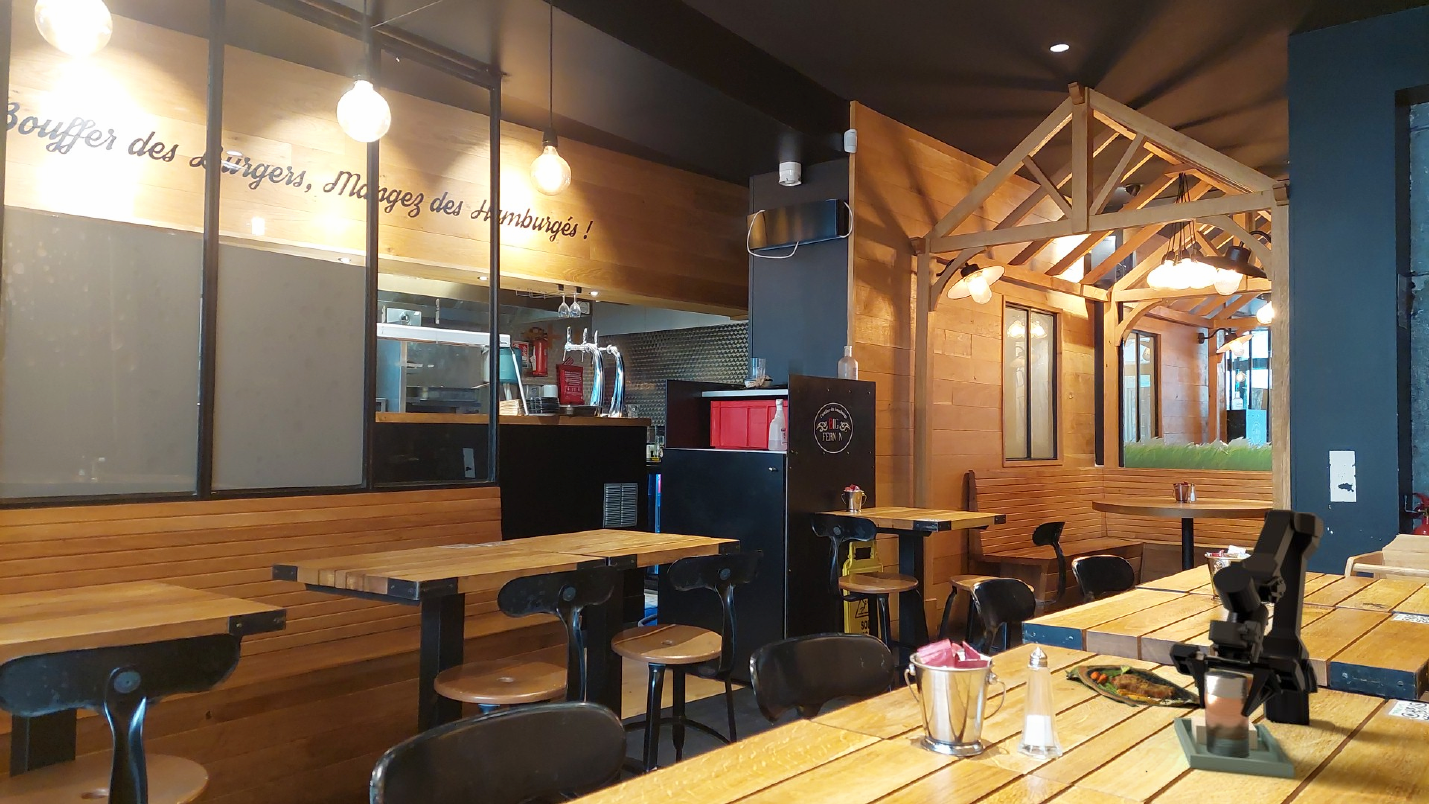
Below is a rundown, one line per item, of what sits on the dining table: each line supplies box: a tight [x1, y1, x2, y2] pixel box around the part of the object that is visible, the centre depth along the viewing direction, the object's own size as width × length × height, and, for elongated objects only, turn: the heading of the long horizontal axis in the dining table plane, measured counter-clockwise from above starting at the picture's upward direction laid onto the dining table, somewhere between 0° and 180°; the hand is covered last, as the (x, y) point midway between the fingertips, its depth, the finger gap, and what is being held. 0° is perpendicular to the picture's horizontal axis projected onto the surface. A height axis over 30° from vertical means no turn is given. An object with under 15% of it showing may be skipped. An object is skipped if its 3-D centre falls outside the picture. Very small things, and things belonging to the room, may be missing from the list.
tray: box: [1173, 716, 1295, 779], centre depth 156 cm, size 14×22×2 cm, turn 160°
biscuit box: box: [1190, 715, 1258, 749], centre depth 161 cm, size 9×6×3 cm, turn 70°
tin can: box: [1204, 671, 1250, 758], centre depth 152 cm, size 6×6×12 cm
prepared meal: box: [1063, 664, 1200, 708], centre depth 197 cm, size 28×4×18 cm
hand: (1223, 711), depth 151 cm, fingers closed on tin can, 6 cm apart
